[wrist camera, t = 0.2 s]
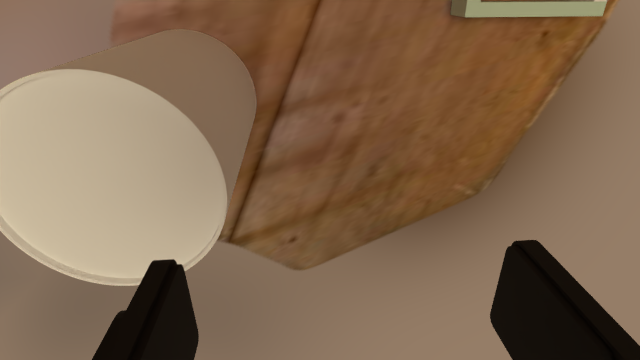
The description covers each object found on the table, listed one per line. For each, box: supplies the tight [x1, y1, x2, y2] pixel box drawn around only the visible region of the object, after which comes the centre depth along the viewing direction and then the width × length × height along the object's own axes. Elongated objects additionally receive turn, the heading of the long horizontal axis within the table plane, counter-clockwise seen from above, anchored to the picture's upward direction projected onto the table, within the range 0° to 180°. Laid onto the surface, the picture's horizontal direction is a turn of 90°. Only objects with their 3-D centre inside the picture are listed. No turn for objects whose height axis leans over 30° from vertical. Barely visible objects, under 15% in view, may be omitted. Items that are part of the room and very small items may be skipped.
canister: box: [0, 29, 257, 286], centre depth 30 cm, size 14×14×20 cm
